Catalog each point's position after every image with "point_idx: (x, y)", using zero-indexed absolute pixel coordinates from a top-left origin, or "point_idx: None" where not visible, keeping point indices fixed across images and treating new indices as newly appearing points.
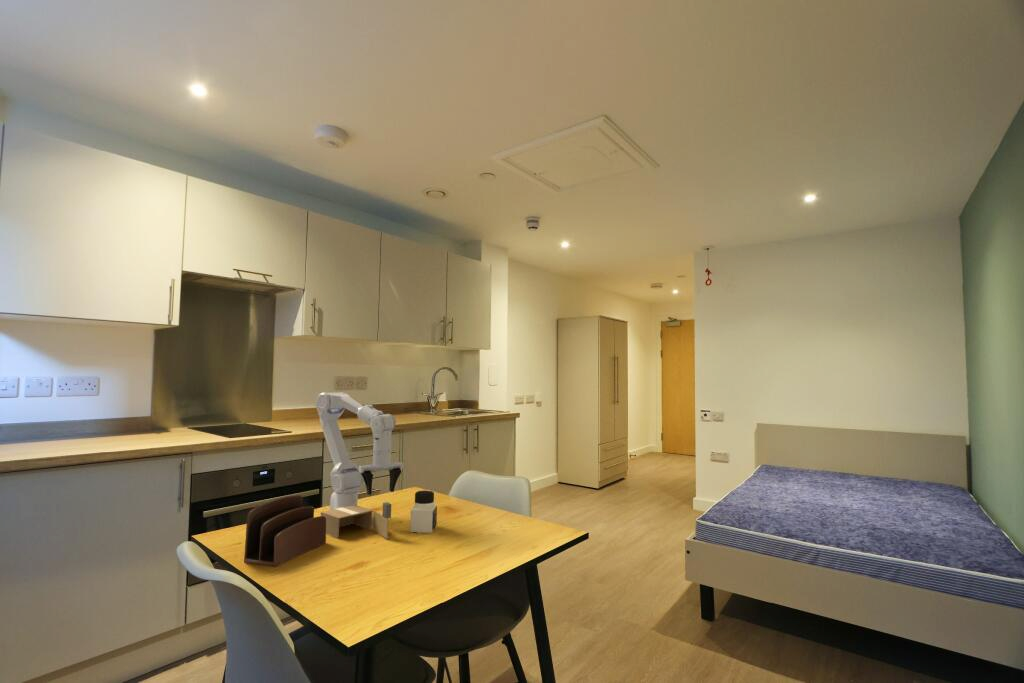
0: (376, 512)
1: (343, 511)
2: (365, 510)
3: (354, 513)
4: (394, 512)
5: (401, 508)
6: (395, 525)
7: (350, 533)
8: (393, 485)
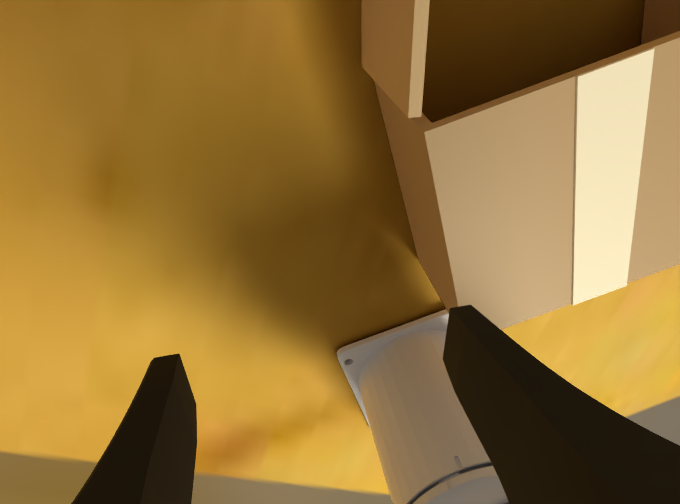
0: (428, 14)
1: (637, 188)
2: (482, 152)
3: (620, 76)
4: (125, 391)
5: (68, 447)
6: (167, 106)
7: (529, 58)
8: (152, 420)
